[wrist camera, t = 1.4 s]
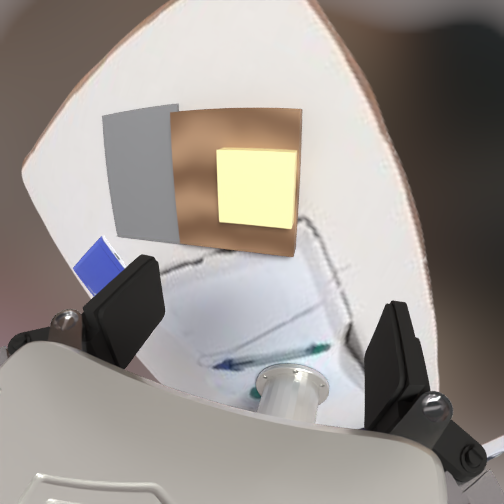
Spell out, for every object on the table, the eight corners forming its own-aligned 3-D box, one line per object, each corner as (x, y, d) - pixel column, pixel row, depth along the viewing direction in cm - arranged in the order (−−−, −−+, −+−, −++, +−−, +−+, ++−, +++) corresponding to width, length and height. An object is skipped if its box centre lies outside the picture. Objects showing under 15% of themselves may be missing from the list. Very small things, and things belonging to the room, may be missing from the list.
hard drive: (98, 302, 48) (130, 278, 42) (72, 268, 46) (99, 237, 40) (103, 298, 49) (136, 273, 44) (77, 264, 47) (105, 233, 42)
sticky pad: (293, 221, 30) (291, 229, 29) (225, 215, 32) (219, 221, 30) (297, 150, 27) (294, 152, 25) (223, 147, 28) (216, 150, 27)
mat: (187, 243, 38) (186, 244, 37) (118, 235, 40) (117, 236, 40) (178, 103, 29) (177, 103, 29) (103, 115, 32) (102, 115, 32)
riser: (295, 249, 34) (293, 257, 32) (187, 237, 37) (180, 243, 35) (302, 109, 27) (300, 108, 25) (178, 111, 30) (170, 112, 28)
